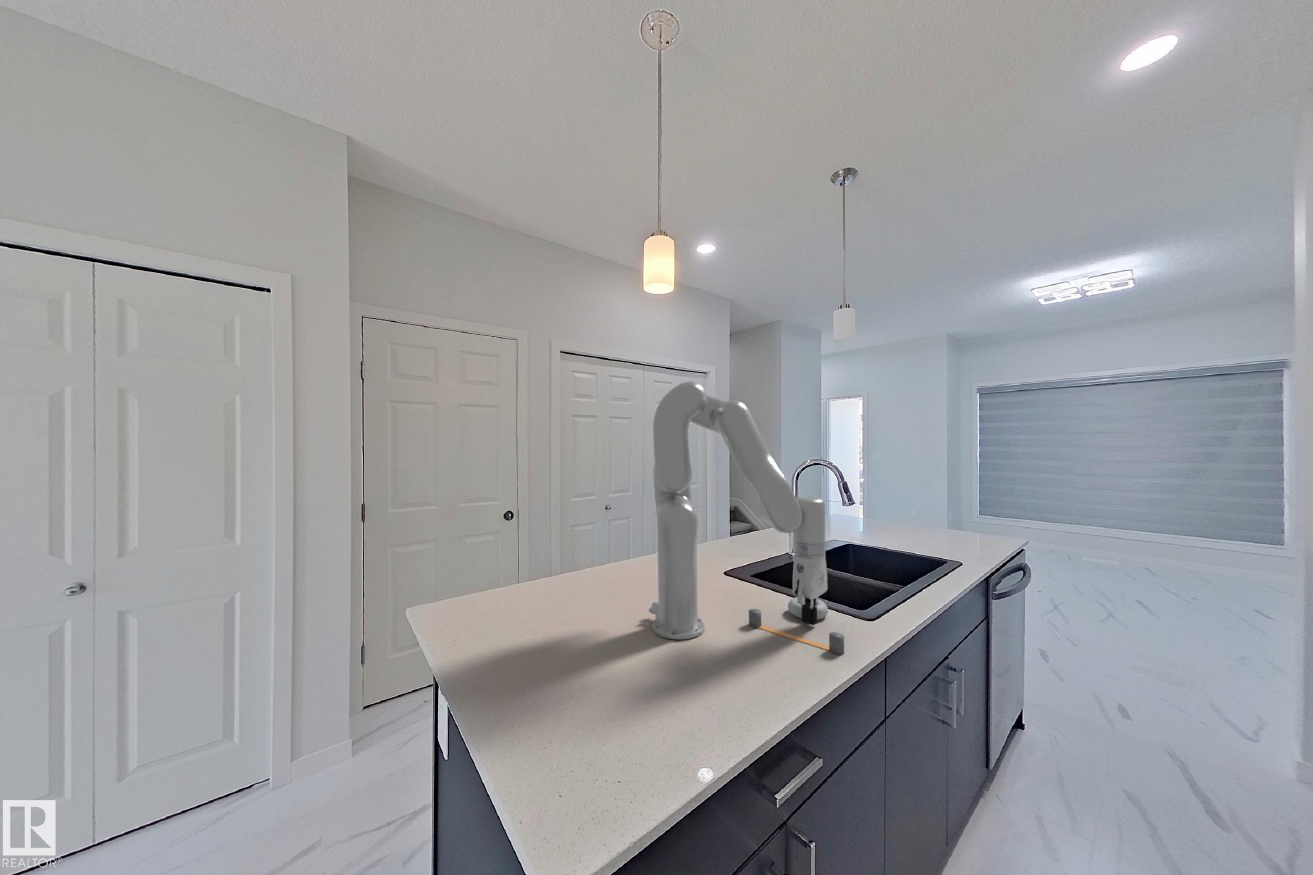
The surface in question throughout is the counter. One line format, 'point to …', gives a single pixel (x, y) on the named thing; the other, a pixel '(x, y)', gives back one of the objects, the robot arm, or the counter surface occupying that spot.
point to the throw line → (834, 638)
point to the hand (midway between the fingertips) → (809, 622)
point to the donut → (797, 609)
